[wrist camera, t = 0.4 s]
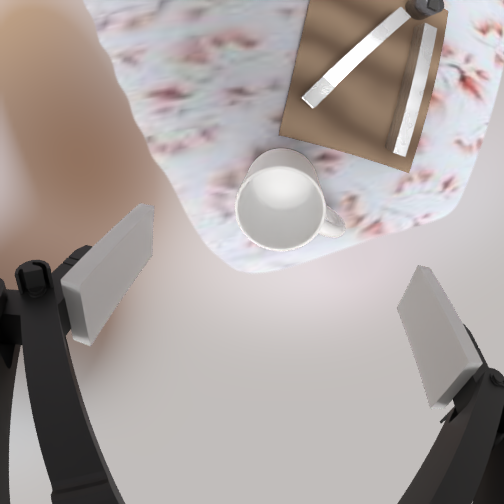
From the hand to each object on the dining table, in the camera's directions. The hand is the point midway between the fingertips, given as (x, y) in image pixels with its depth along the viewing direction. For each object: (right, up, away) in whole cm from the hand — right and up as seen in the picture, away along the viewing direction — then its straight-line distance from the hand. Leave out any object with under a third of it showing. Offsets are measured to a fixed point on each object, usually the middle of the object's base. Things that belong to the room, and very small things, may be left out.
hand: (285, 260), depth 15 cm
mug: (+4, +8, +23) cm, 25 cm away
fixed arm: (+15, +21, +14) cm, 29 cm away
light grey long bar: (+9, +21, +14) cm, 27 cm away
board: (+12, +22, +15) cm, 29 cm away
